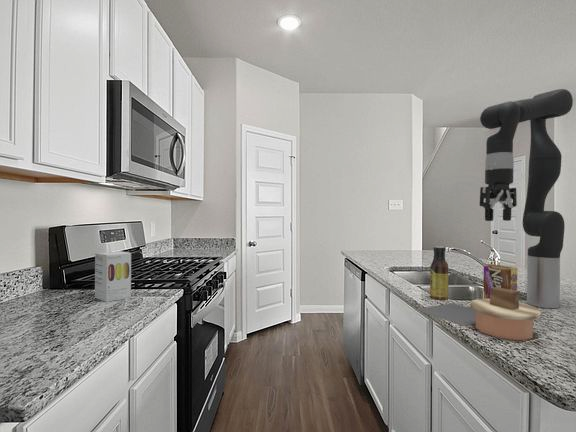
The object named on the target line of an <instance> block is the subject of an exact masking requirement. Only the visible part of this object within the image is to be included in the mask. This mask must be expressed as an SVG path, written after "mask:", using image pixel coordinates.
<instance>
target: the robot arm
mask: <svg viewBox="0 0 576 432" xmlns="http://www.w3.org/2000/svg"><path fill="white" fill-rule="evenodd" d="M572 95H573V94H572V93H571V92H570V91H569V90H568V89H564V88H559V89H553V90H550V91H547V92H543V93H539V94H536V95H534V96H533V97H532V98H526V99H520V100H514V101H505V102H503V103H502V102H501V103H497V104H494V105H491V106H488V107H486V108H484V110H482V112H481V113H480V118H479V120H480V124H481V125H482V126H483V127H484V128H485V129H489V130H493V129H498V128H499V130H498V131H497V132H496V133H494V134H492V135H490V136H489V137H487V139H486V155H485V161H484V163H485V164H484V165H485V166H484V167H485V168H484V183H485V185H487V186H481V187H480V188H479V189H480V190H479V206H480V207H483V209H484V220H485V221H486V222H493V221H494V210H495V209H494V207H495V205H496V204H497V203H499V204H501V206H502V208H503V209H502V221H503V222H504V221H506V222H507V221H508V222H509V221H512V210H513V208H515V207H517V204H518V203H517V202H518V201H517V198H518V197H517V187H510V185H511V184H513V183H514V163H515V162H514V137H515V135H516V131H517V127H518V125H519V123H524V122H526V121H530V146H529V147H530V149H529V158H528V159H529V160H528V178H527V190H526V199H525V203H524V210H523V214H522V228H523V231H524V233H525V234H526V235H527V236H530V237H531V236H532V237H539V242H538V243H537V244H535V245H532V246H529V247H528V248H527V261H526V262H527V268H526V269H527V270H526V273H527V274H526V280H527V281H526V304H527V305H531V306H533V307H536V308H537V307H538V308H544V309H558V308H560V301H561V299H560V297H561V277H560V275H561V253H562V250H563V247H564V237H565V219H564V217H563V215H562V214H561V213H560V212H558V211H556V210H555V211H554V210H545V203H546V199H547V196H548V194H549V193H550V192H551V190H552V188H553V187H554V186H555V184H556V182H557V181H558V179H559V177H560V175H561V169H562V152H561V150H560V148H559V147H558V146H557V144H556V143H555V142H554V141H553V140H552V139H551V137H550V135H549V134H548V130H547V123H546V122H547V120H548V119H553V118H558V117H562V116H564V115H567V114H569V112H570V111H571V110H572V108H573V103H574V100H573V99H574V98H573V96H572ZM484 200H485V201H484Z"/></svg>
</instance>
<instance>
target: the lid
mask: <svg viewBox="0 0 576 432" xmlns="http://www.w3.org/2000/svg"><path fill="white" fill-rule="evenodd" d="M470 308H472V309H473V310H475V311H477V312H479V313H482V314H485V315H489V316H493V317H498V318H504V319H513V320H533V321H534V320H538V319H540V318H541V310H540V309H539V307H538V308H537V306H533V305H530V304H528V303H523V302H520V291H518V290H517V291H513V290H509V289H504V288H499V287H494V288H490V299H483V298H476V299H473V300H471V301H470Z"/></svg>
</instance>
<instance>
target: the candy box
mask: <svg viewBox="0 0 576 432" xmlns="http://www.w3.org/2000/svg"><path fill="white" fill-rule="evenodd" d="M494 287H499V288H504V289H509V290H513V291H518V267H517V266H509V265H503V264H494V263H485V264H483V288H482V289H483V291H482V292H483V295H482V296H483V298H482V299H490V288H494Z"/></svg>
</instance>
